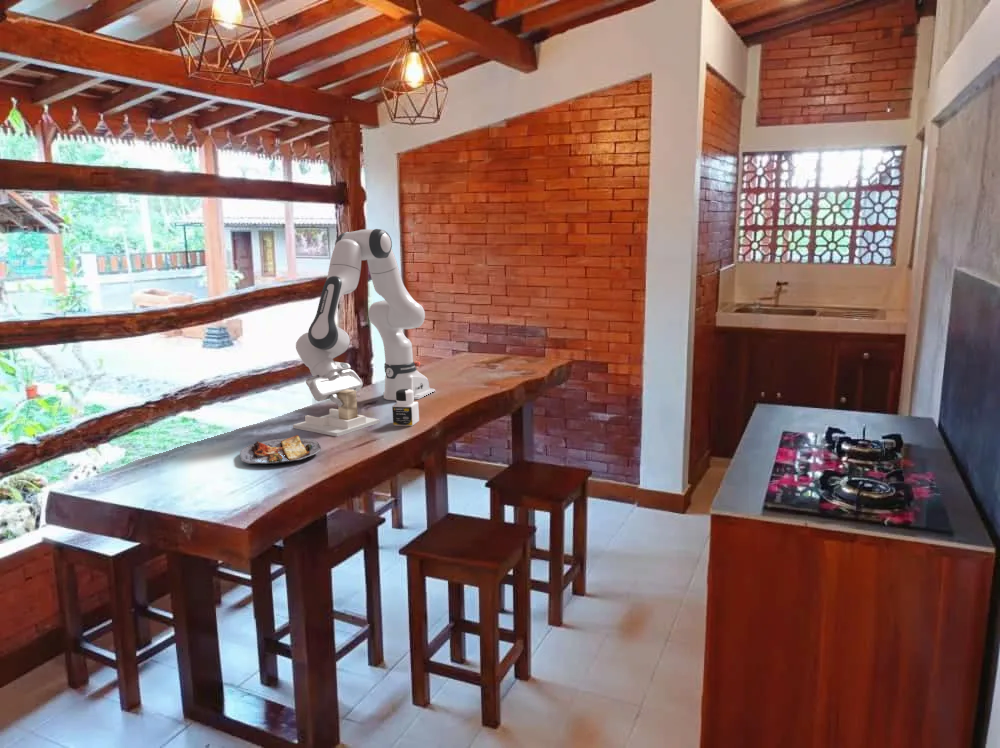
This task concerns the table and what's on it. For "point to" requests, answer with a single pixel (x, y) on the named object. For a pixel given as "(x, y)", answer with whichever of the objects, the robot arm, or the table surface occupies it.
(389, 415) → the table surface
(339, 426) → the keyhole dock
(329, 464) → the table surface
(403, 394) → the medicine bottle
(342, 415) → the beech peg
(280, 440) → the food plate
